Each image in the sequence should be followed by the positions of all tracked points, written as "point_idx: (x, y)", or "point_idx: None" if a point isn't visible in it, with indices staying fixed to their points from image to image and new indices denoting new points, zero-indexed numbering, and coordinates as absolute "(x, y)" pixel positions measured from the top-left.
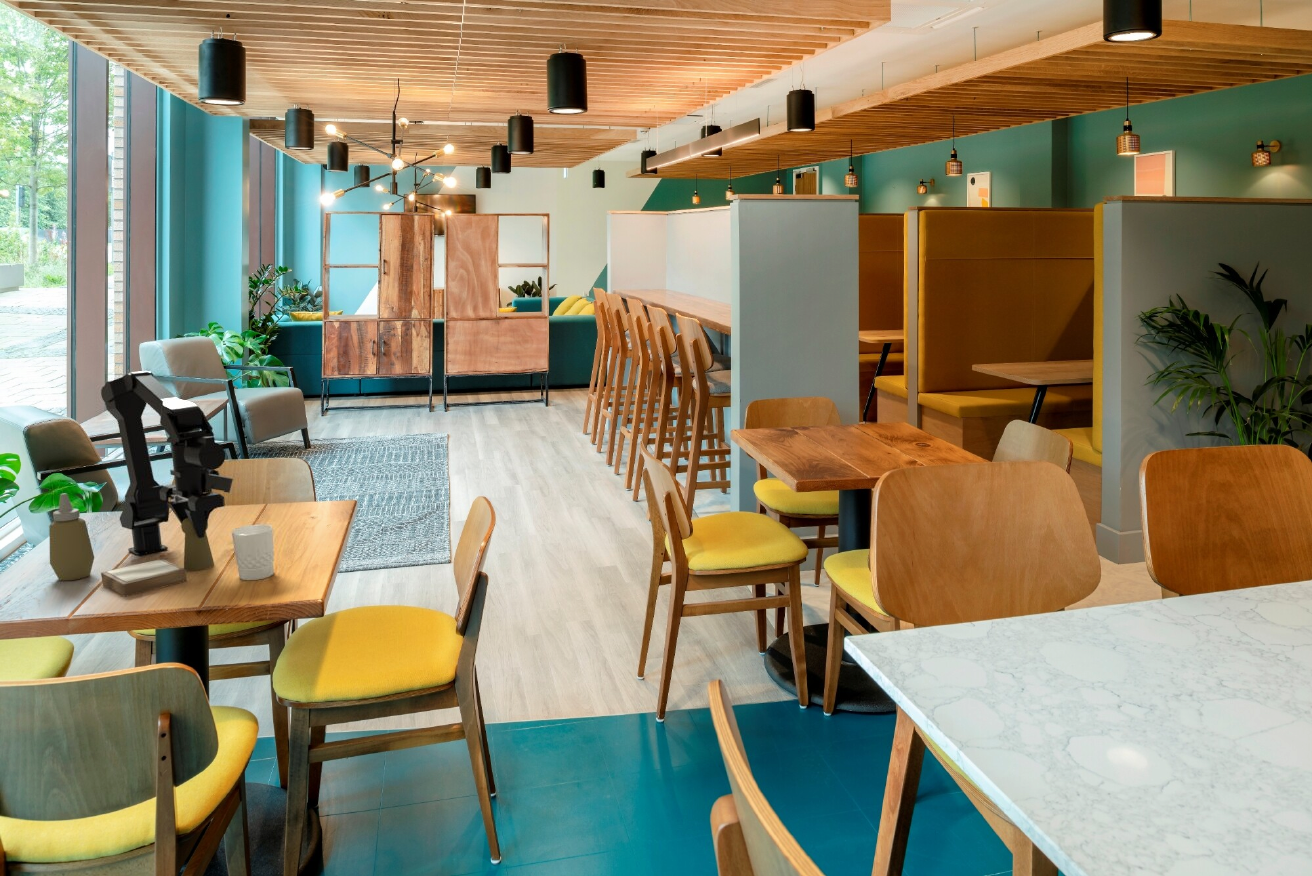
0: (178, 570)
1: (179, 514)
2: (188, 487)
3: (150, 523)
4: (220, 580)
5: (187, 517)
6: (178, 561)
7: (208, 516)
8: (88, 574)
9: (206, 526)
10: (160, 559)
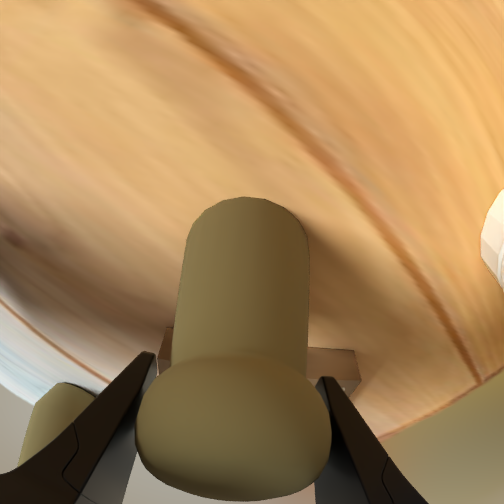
0: (347, 391)
1: (118, 500)
2: None
3: None
4: (446, 303)
5: (118, 461)
6: (104, 250)
7: (417, 495)
8: (92, 398)
9: (324, 408)
10: (165, 364)
